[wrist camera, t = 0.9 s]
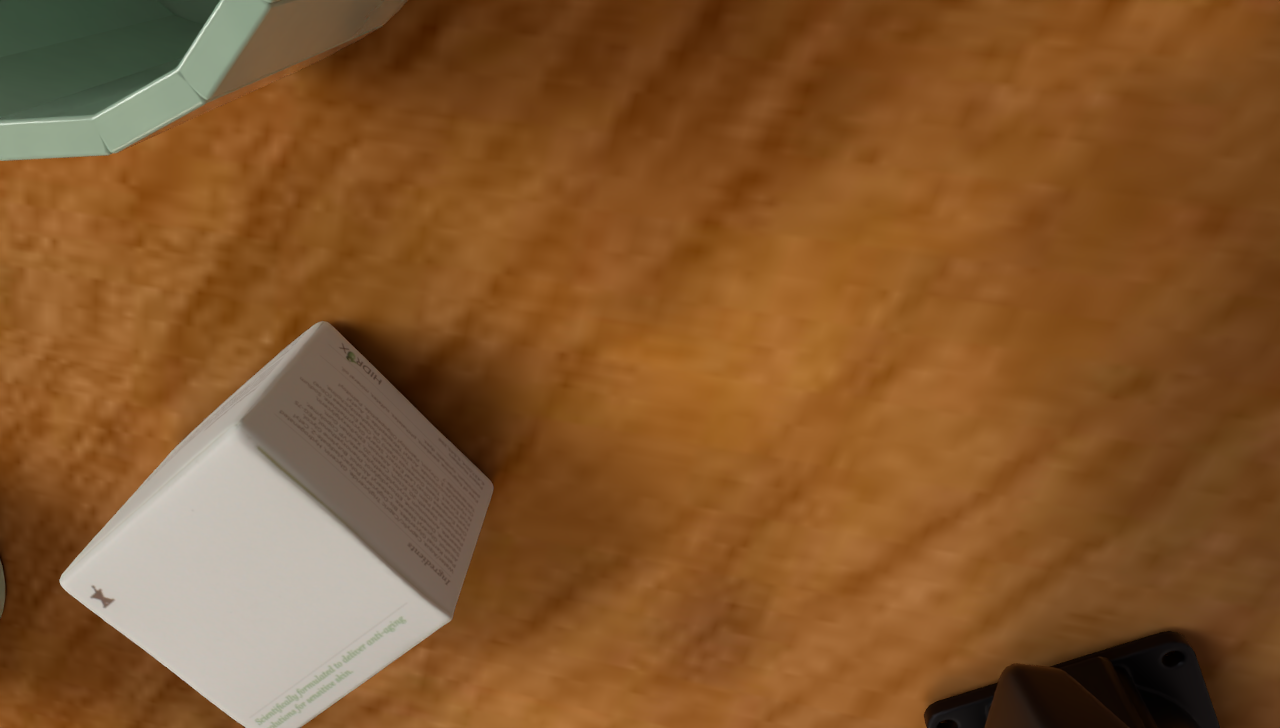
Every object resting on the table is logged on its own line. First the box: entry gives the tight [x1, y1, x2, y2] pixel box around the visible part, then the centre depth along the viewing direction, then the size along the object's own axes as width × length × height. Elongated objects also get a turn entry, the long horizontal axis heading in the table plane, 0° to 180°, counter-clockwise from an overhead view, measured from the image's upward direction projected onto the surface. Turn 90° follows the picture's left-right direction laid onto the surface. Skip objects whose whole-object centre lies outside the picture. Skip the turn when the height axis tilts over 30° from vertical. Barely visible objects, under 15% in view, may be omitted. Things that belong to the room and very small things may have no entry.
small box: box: [59, 321, 494, 728], centre depth 21 cm, size 6×6×5 cm
